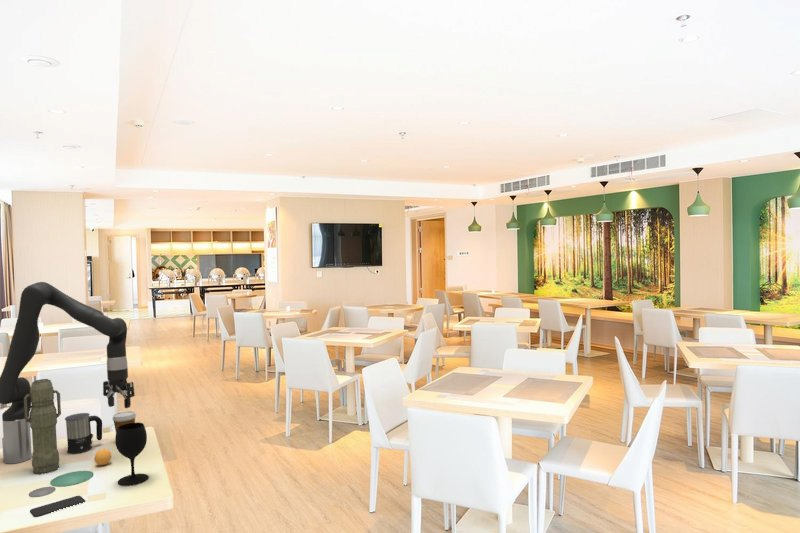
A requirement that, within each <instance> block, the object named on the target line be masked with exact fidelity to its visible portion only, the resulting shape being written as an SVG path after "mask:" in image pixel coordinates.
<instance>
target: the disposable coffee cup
mask: <svg viewBox="0 0 800 533" xmlns="http://www.w3.org/2000/svg"><path fill="white" fill-rule="evenodd" d="M136 417H137V414H136V412H135V411H120V412H117V413H114V414H113V417H112V422H113V423H114V424H113V425H114V430H115V432H116V431H117V428H118V427H119V426H121V425H124V424H128V423H136Z"/></svg>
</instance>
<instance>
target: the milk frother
mask: <svg viewBox="0 0 800 533" xmlns="http://www.w3.org/2000/svg"><path fill="white" fill-rule="evenodd" d="M64 420H65V425H66V437H67V438H66V439H67V451H66V452H67V454H73V455H74V454H76V455H77V454H81V453H85V452H87V451H90V450H91V449H92V448H93V446H92V439H93V438H94V434H93V433H92V429H91V428H92V427H91V426H92V425H91V422H93V421H94V422H95V424H96V435H95V436H96V440H97V441H101V440H102V439H103V420H102V418H101V417H99V416H98V415H90V413H88V412H87V413H86V412H80V413H73V414H70V415H67V416H65V418H64Z"/></svg>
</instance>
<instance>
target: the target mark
mask: <svg viewBox="0 0 800 533" xmlns="http://www.w3.org/2000/svg"><path fill="white" fill-rule="evenodd" d="M93 476H94V472H93V471H91V470H76V471H70V472H67V473H63V474H60V475H58V476H56V477H54V478H52V479H51V480H50V482H49V484H50V485H51V487H57V488H58V487H70V486H75V485H79V484H81V483H85V482H86V481H89V480H91V479H92V478H93Z"/></svg>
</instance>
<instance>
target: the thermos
mask: <svg viewBox="0 0 800 533" xmlns="http://www.w3.org/2000/svg"><path fill="white" fill-rule="evenodd" d="M30 387H31V388H30V393H29V394H27V395H26V396H25V397H24V410H25V420H26V422H29V423H30V430H31V440H32V457H31V465H32V473H33V474H34V475H45V473H46V474H50V473H53V472H56V471H57V470H58V468H59V469H60V452H59V449H58V441H57V423H58V418H59V417H60V416H61V415H62V408H61V393H60V392H59V391H58V390H57V389H54V386H53V383H52V380H51V379H48V378H42V379H36V380H34V381H32V382H31V384H30ZM54 394H56V400H57V402H56V403H57V404H56V405H57V406H55V401H54V399H55V395H54ZM28 397H31V409H30V412H29V416H30V418H29V419H28V410H27V398H28ZM56 407H57V408H56ZM49 472H50V473H49Z"/></svg>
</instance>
